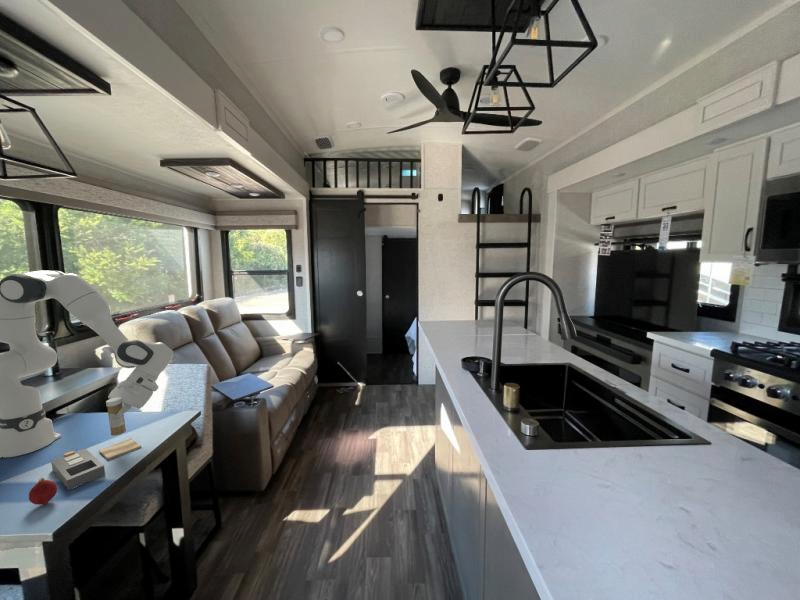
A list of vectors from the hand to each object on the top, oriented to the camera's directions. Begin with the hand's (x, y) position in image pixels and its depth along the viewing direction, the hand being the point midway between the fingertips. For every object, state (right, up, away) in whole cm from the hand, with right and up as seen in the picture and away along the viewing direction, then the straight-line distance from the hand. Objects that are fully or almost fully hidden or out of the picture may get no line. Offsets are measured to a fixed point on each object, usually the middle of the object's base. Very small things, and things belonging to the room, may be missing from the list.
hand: (113, 414), depth 125 cm
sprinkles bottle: (+1, -8, +1) cm, 8 cm away
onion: (+2, -18, -26) cm, 32 cm away
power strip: (-5, -16, -10) cm, 19 cm away
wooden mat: (+1, -14, +2) cm, 14 cm away
